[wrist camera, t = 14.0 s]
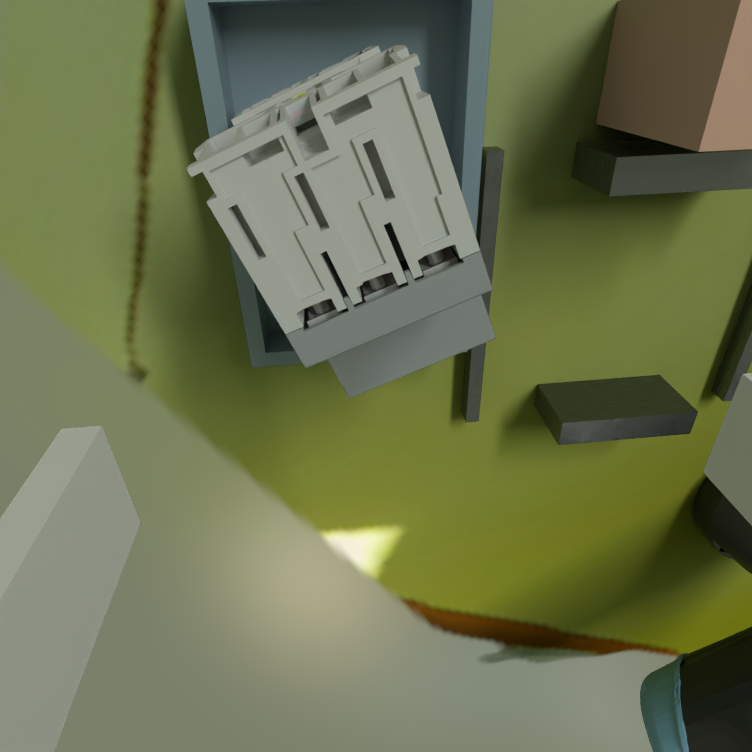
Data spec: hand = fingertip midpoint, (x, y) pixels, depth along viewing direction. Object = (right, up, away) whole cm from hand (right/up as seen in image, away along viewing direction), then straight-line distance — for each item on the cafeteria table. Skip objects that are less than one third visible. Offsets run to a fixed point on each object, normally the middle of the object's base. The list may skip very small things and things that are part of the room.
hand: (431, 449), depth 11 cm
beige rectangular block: (+16, +20, +19) cm, 31 cm away
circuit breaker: (-2, +12, +20) cm, 24 cm away
